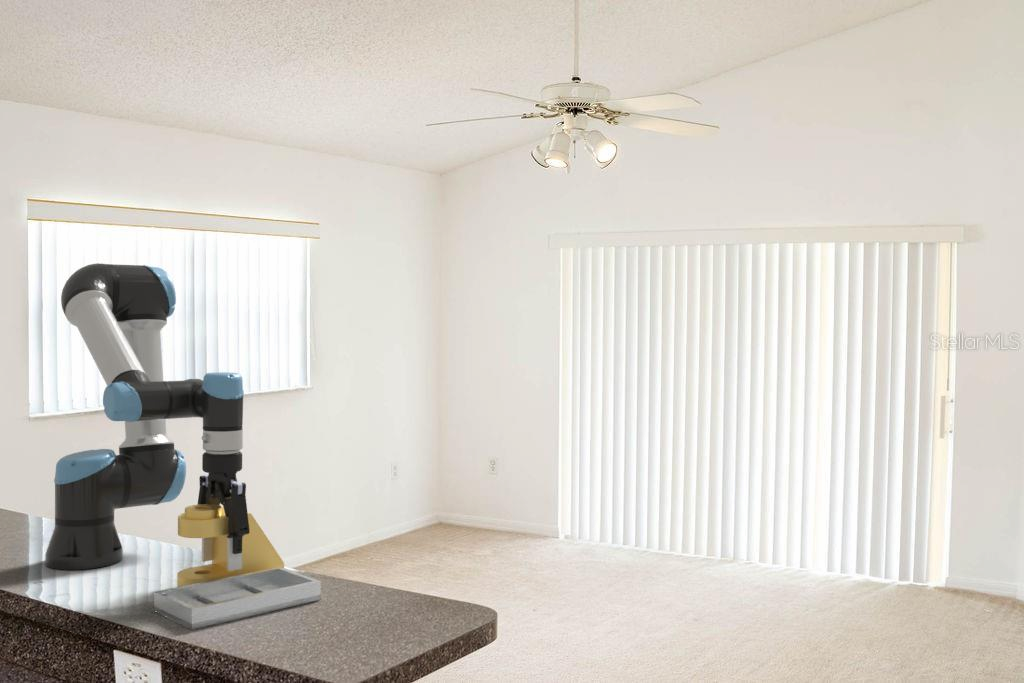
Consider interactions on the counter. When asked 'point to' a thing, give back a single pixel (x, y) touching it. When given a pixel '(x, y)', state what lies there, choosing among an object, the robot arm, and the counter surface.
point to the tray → (236, 597)
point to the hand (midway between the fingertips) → (221, 564)
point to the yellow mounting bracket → (223, 545)
